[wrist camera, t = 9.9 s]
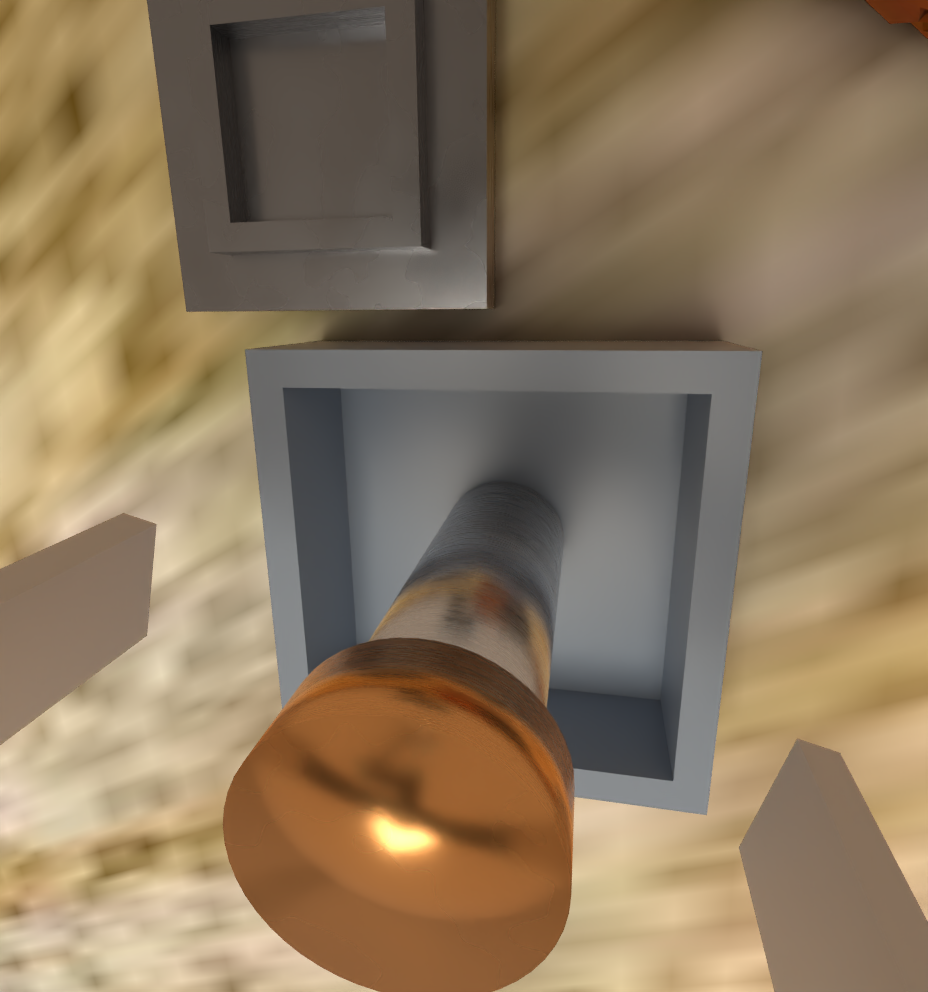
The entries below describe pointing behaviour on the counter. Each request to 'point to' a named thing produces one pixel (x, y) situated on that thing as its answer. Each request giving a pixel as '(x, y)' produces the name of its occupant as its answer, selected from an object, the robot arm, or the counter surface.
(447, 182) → the collar plate
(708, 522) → the bin
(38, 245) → the counter surface
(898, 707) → the counter surface
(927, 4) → the tool
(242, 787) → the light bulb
